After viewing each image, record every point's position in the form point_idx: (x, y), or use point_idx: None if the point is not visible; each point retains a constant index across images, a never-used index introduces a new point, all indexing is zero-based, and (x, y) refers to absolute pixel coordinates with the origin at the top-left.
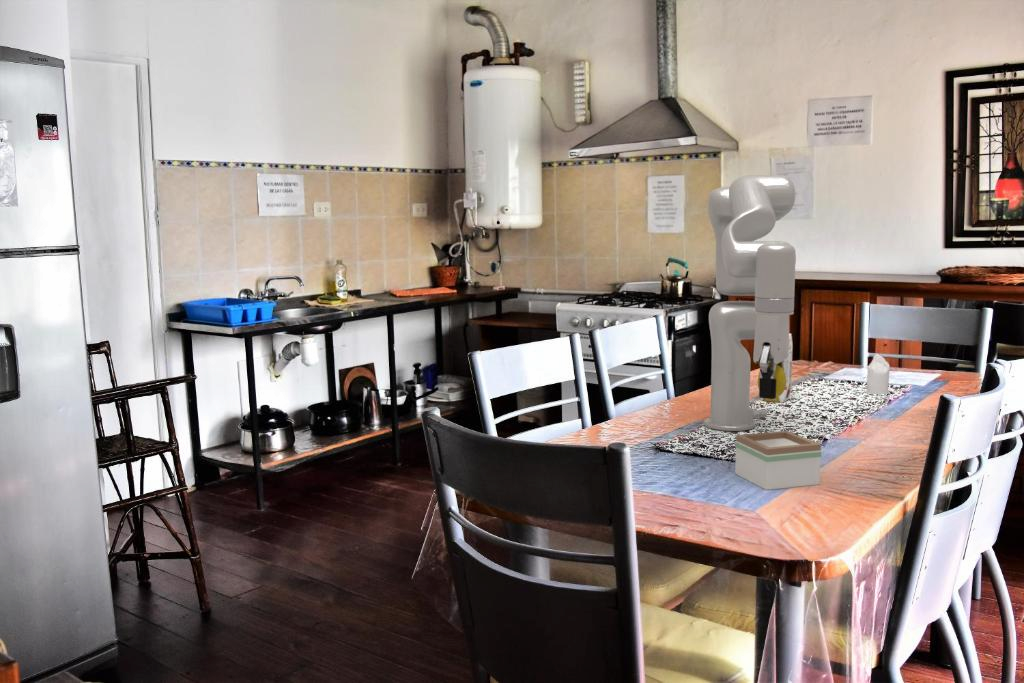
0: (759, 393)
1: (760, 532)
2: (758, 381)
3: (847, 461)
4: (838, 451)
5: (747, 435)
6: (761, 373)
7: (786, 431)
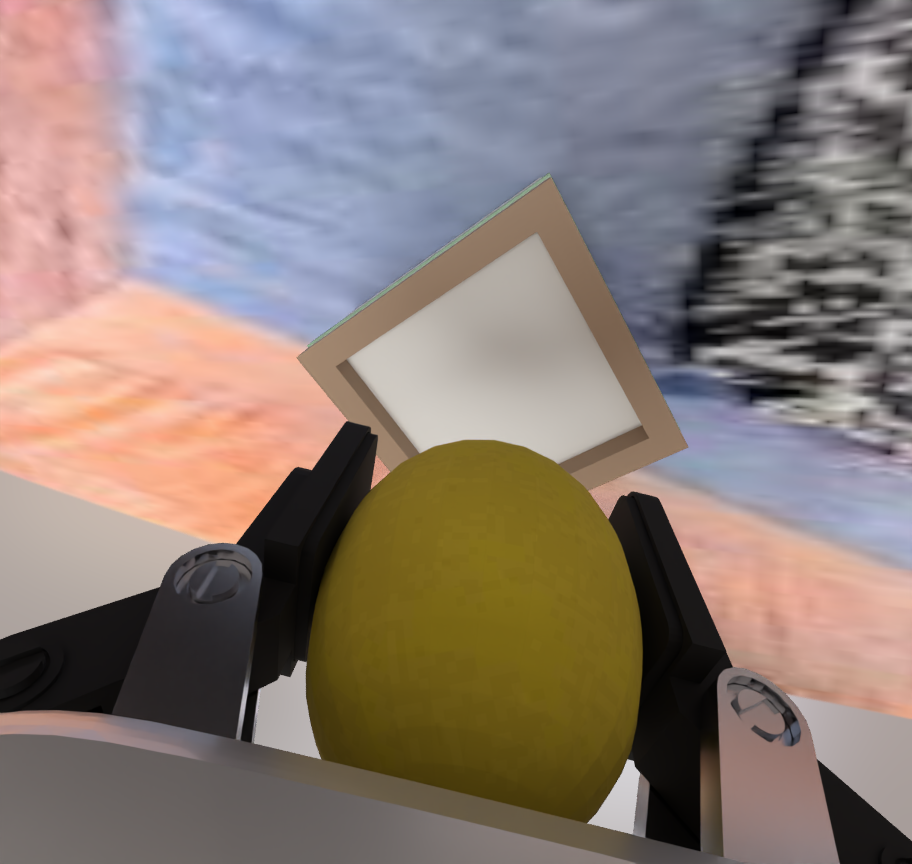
0: (338, 436)
1: None
2: (409, 487)
3: (746, 553)
4: (885, 544)
5: (554, 250)
6: (62, 620)
7: (670, 444)
